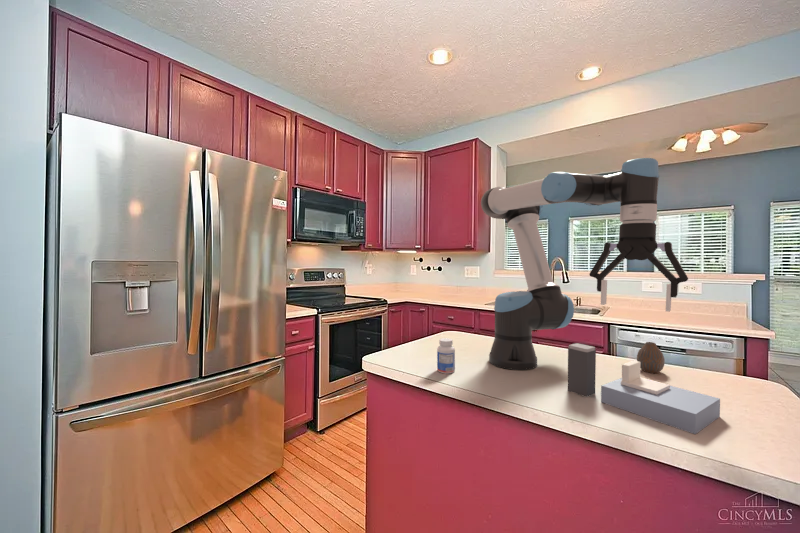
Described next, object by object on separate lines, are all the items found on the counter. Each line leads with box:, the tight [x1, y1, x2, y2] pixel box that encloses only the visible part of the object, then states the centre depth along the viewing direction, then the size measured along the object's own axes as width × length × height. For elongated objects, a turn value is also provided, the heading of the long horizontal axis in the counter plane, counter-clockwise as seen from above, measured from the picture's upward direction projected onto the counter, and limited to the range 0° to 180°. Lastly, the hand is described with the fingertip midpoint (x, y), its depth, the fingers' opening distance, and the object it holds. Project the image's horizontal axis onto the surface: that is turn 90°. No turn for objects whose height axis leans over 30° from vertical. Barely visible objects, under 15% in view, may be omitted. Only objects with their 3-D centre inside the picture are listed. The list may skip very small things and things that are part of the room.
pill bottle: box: [436, 337, 456, 375], centre depth 105 cm, size 6×5×10 cm
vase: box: [636, 341, 666, 374], centre depth 105 cm, size 7×7×9 cm
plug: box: [567, 342, 597, 398], centre depth 89 cm, size 5×4×12 cm
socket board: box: [600, 377, 721, 435], centre depth 79 cm, size 18×14×4 cm
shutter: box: [621, 359, 671, 395], centre depth 82 cm, size 8×7×5 cm
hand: (634, 307), depth 86 cm, fingers open, 13 cm apart
